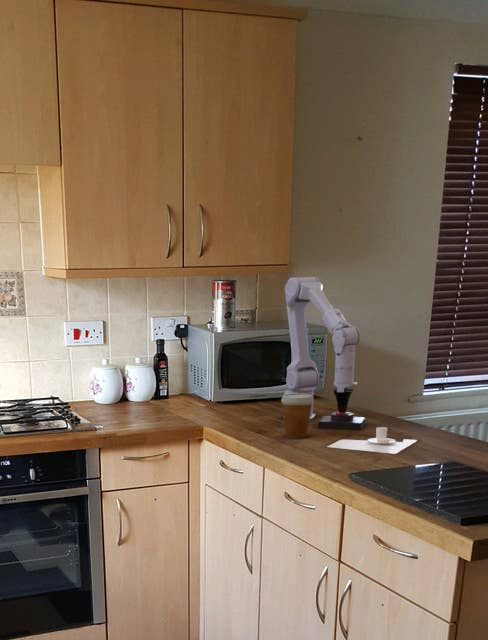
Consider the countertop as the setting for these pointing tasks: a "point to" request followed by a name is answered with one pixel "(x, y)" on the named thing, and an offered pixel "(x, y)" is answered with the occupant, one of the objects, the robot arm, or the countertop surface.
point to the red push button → (342, 413)
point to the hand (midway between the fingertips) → (342, 412)
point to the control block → (342, 422)
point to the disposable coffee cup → (296, 414)
